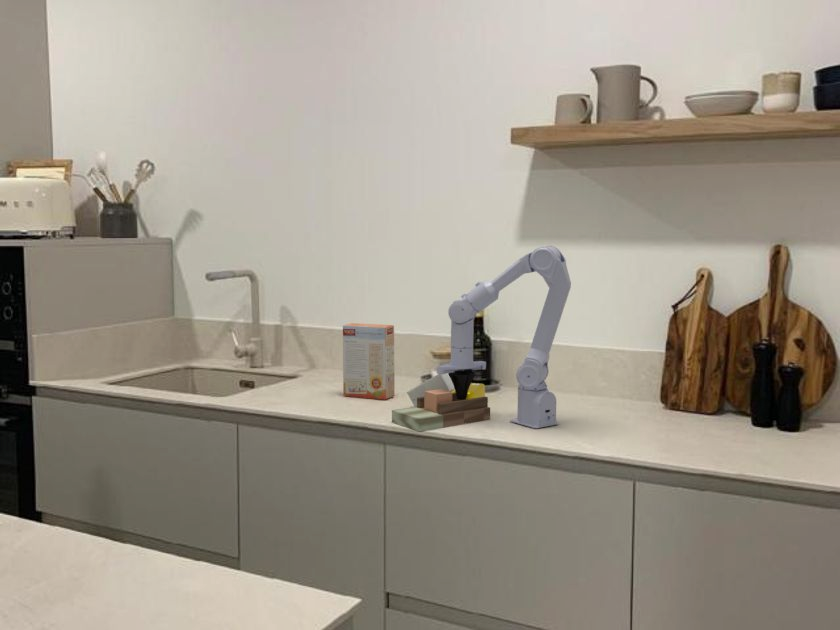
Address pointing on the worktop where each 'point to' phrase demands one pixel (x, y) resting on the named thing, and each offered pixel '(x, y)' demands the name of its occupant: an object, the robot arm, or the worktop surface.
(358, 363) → the cracker box
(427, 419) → the trap channel
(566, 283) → the robot arm
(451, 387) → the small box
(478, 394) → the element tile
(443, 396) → the block
